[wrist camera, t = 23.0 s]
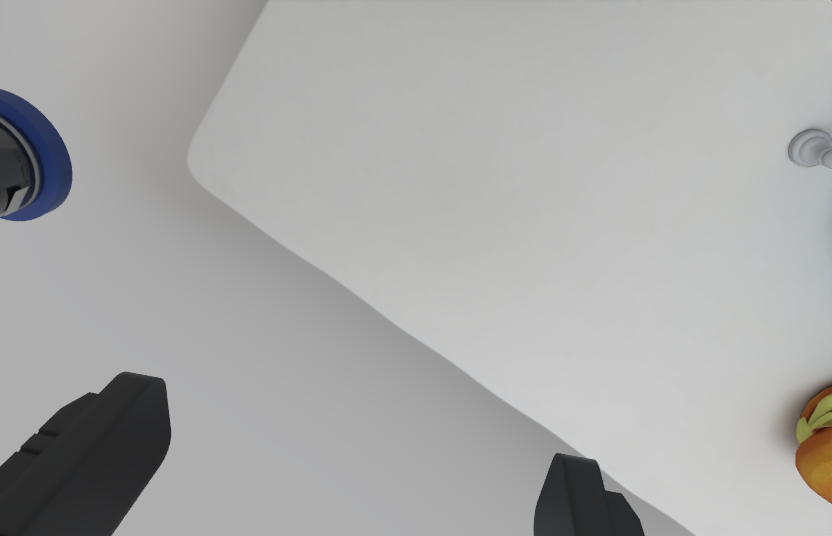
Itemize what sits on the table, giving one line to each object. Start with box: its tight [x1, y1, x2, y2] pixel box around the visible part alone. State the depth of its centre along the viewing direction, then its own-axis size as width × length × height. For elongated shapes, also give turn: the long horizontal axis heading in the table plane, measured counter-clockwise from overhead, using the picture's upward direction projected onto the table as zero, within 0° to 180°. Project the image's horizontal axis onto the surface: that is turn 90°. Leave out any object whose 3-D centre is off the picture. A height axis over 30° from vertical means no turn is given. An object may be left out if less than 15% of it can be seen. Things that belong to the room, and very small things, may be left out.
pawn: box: [789, 130, 832, 169], centre depth 36 cm, size 3×3×4 cm
